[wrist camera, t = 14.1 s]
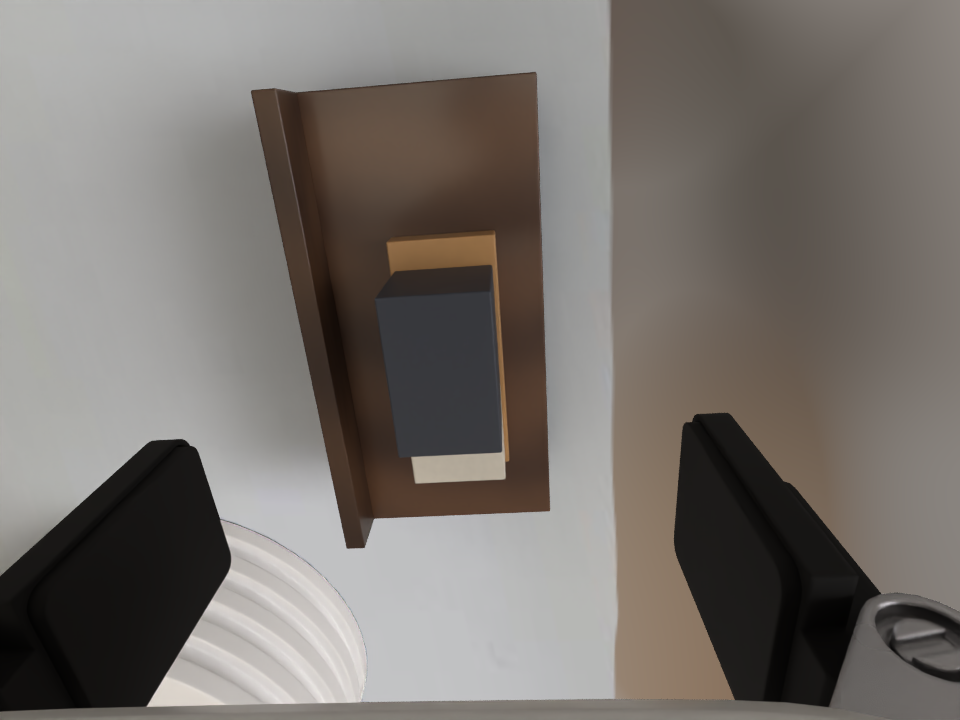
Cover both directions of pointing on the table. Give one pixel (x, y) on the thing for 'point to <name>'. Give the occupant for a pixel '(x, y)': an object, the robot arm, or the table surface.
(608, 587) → the table surface
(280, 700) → the plate stack
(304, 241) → the book shelf
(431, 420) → the black and tan block
